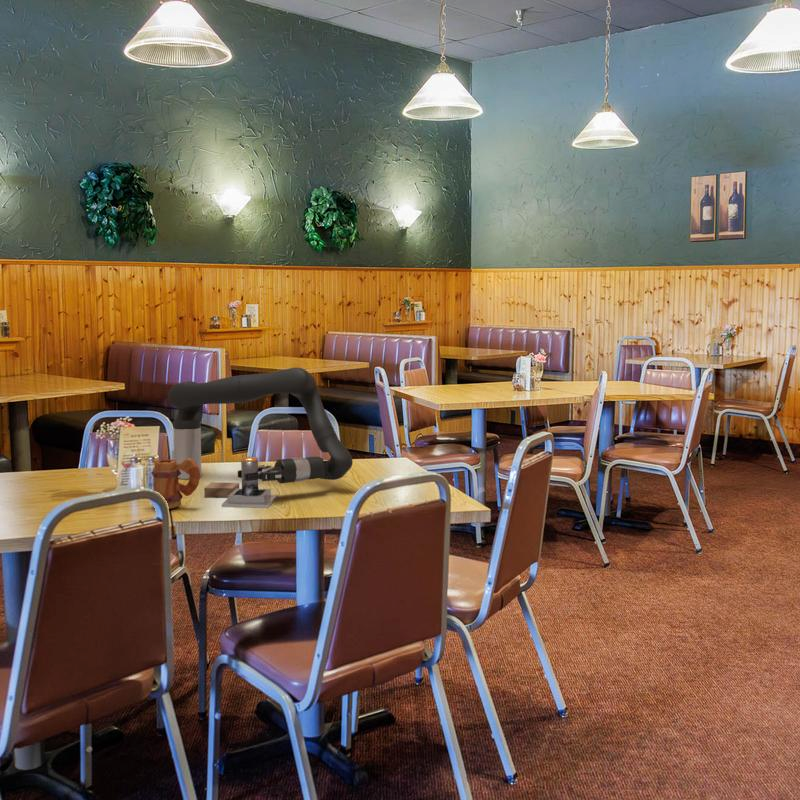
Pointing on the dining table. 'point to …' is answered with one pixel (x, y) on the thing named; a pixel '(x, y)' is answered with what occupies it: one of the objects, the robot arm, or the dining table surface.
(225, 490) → the stand
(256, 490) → the grey metal cylinder
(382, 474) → the dining table surface
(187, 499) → the dining table surface
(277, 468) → the robot arm
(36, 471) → the dining table surface
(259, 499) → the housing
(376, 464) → the dining table surface
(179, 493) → the mug
